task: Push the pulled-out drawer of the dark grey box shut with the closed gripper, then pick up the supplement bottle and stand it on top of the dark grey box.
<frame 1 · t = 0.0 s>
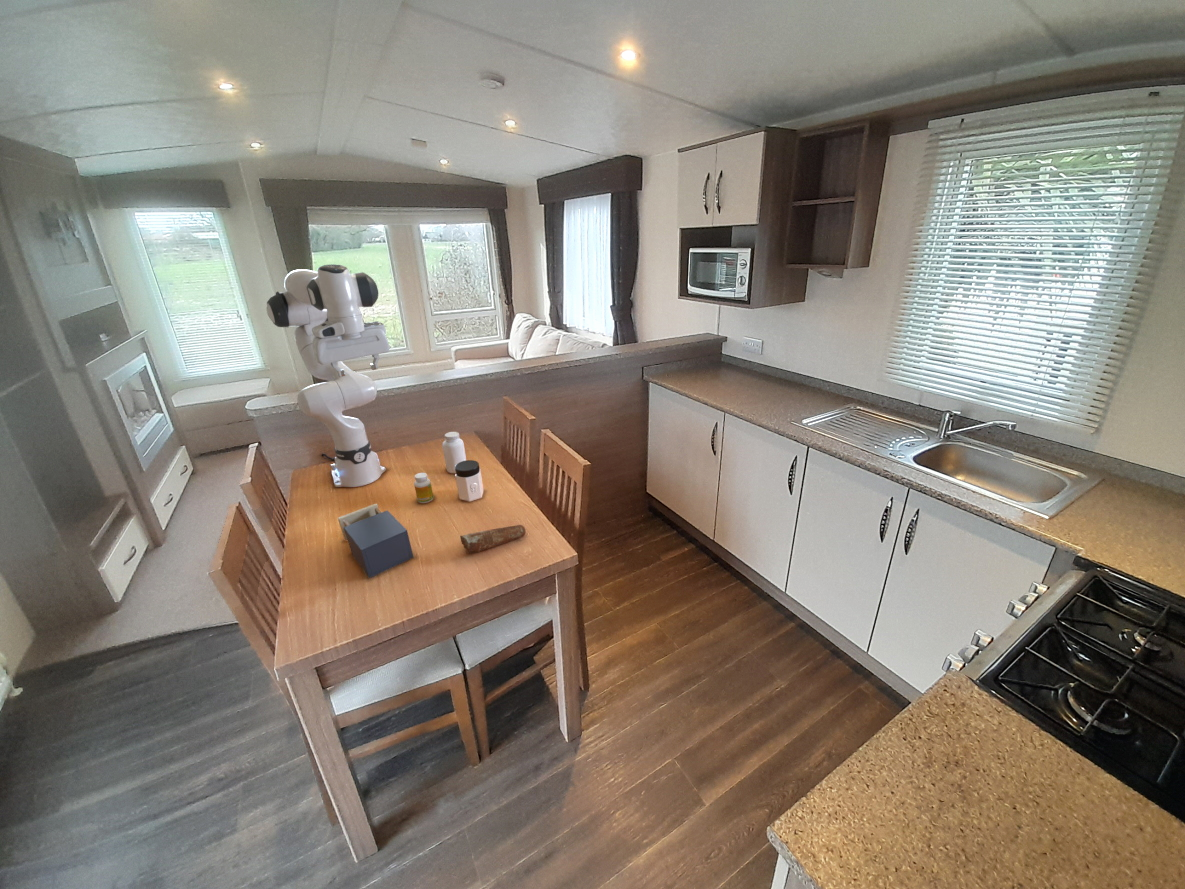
hand: (358, 372, 141), 48 cm above the table, tool pointing down, fingers open, 8 cm apart
supplement bottle: (425, 500, 167), on the table
rusty brown tapered cylinder: (495, 543, 143), on the table
pill bottle: (457, 469, 187), on the table
drawer: (365, 526, 144), point 5 cm above the table, slide at 7.0 cm
dark grey box: (382, 556, 139), on the table
jar: (471, 495, 169), on the table
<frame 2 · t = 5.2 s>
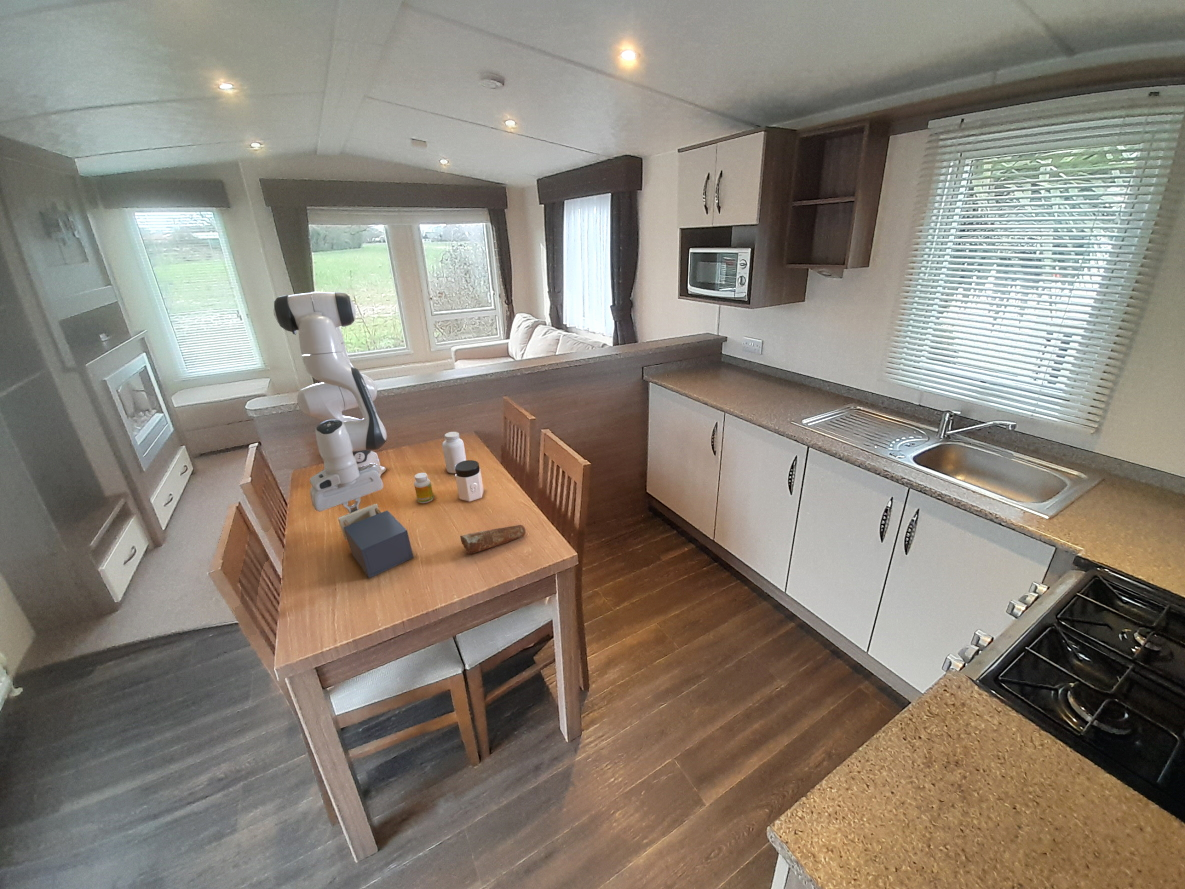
hand: (353, 511, 150), 6 cm above the table, tool pointing down, fingers closed, pressing on drawer
drawer: (365, 527, 144), point 5 cm above the table, slide at 6.9 cm, touching gripper
everything else where it was.
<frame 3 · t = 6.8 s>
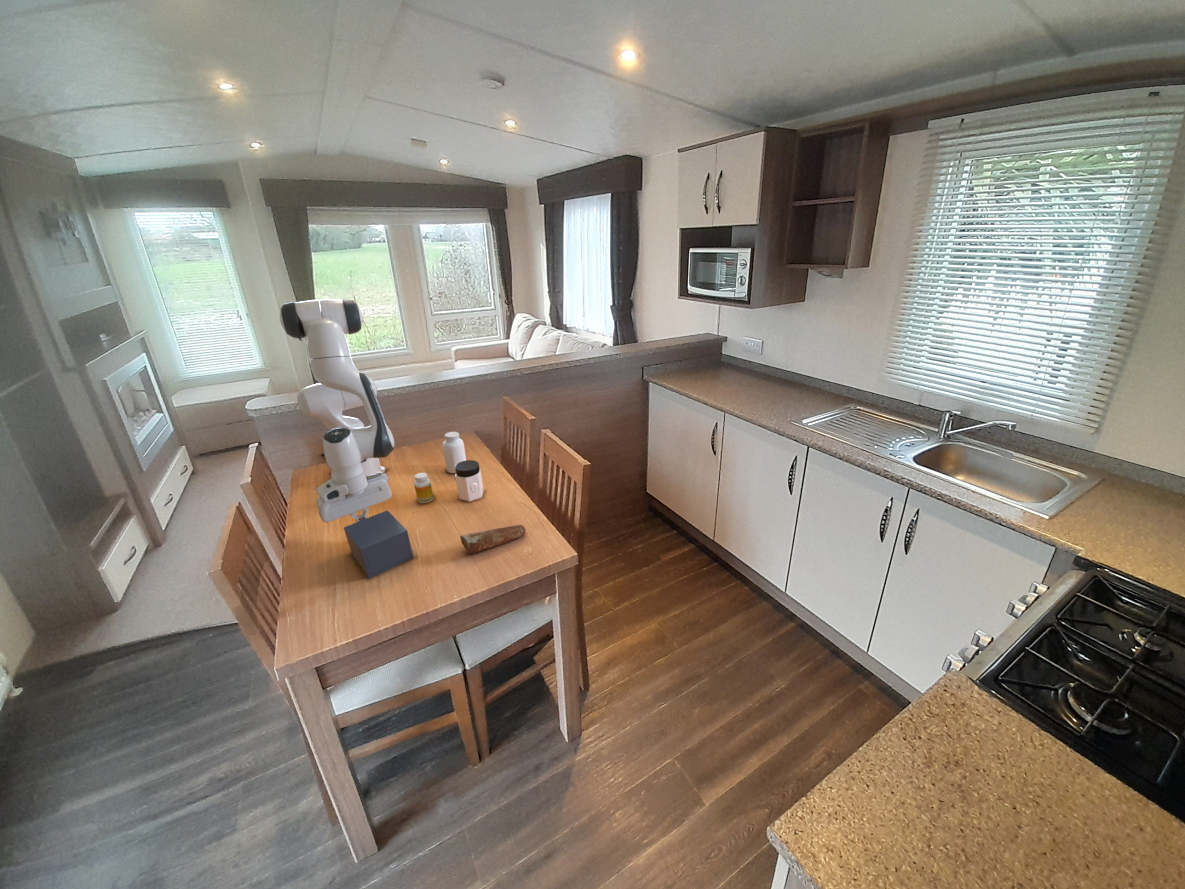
hand: (361, 521, 146), 6 cm above the table, tool pointing down, fingers closed, pressing on drawer
drawer: (373, 536, 139), point 5 cm above the table, slide at 0.0 cm, touching dark grey box, gripper
everything else where it was.
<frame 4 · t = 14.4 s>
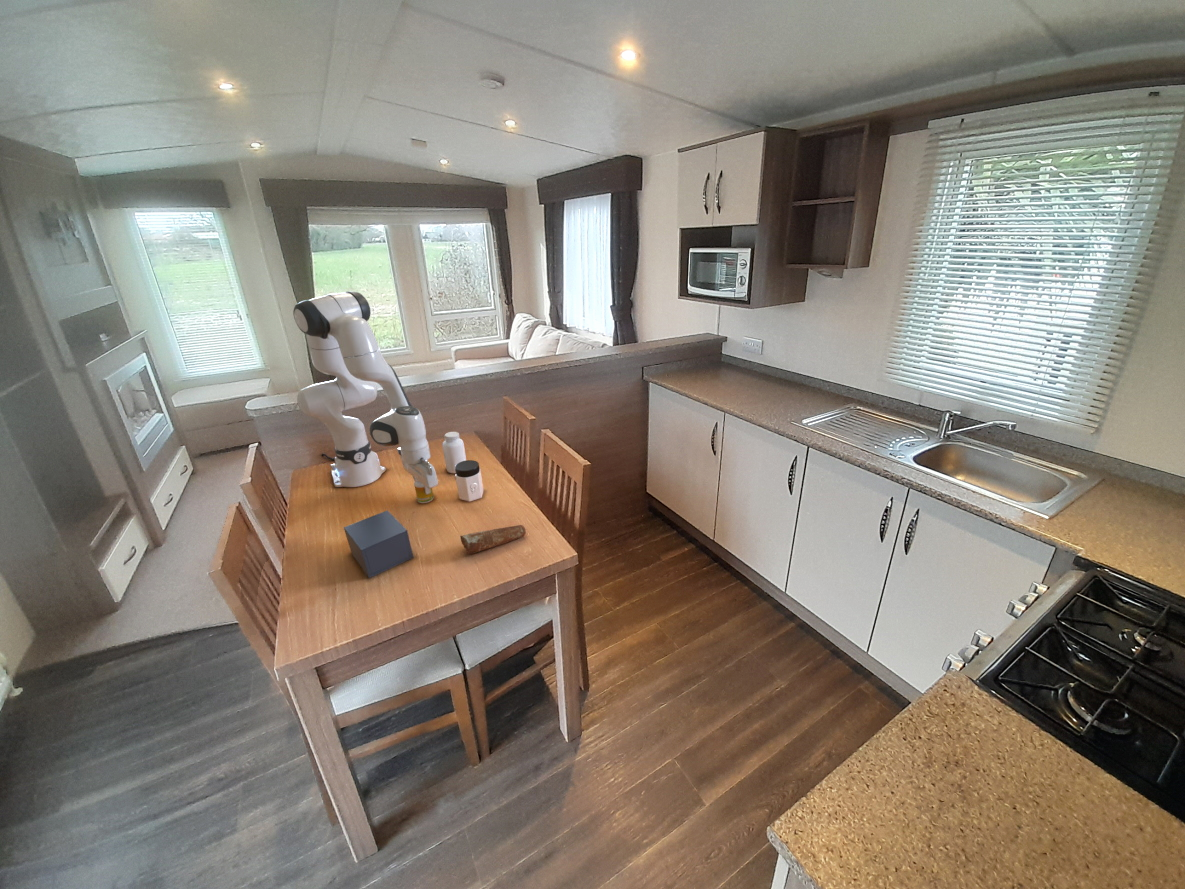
hand: (423, 489, 165), 4 cm above the table, tool pointing down, fingers closed on supplement bottle, 5 cm apart
supplement bottle: (425, 500, 167), on the table, touching gripper
drawer: (373, 536, 139), point 5 cm above the table, slide at 0.0 cm, touching dark grey box
everything else where it was.
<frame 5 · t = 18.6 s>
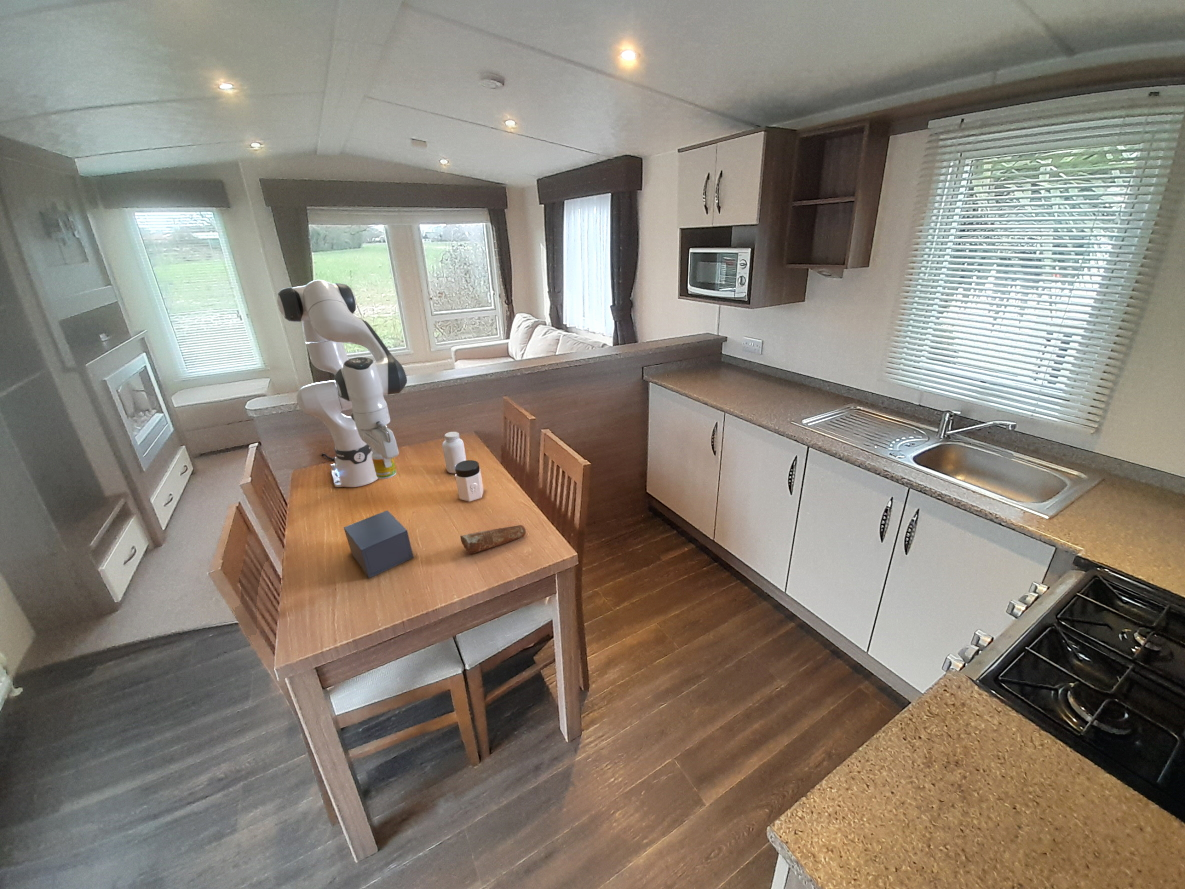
hand: (383, 462, 136), 26 cm above the table, tool pointing down, fingers closed on supplement bottle, 5 cm apart
supplement bottle: (386, 475, 138), point 21 cm above the table, touching gripper
everything else where it was.
when the fingers open (14 cm above the table, at t = 22.7 s): supplement bottle stays where it is, resting on dark grey box.
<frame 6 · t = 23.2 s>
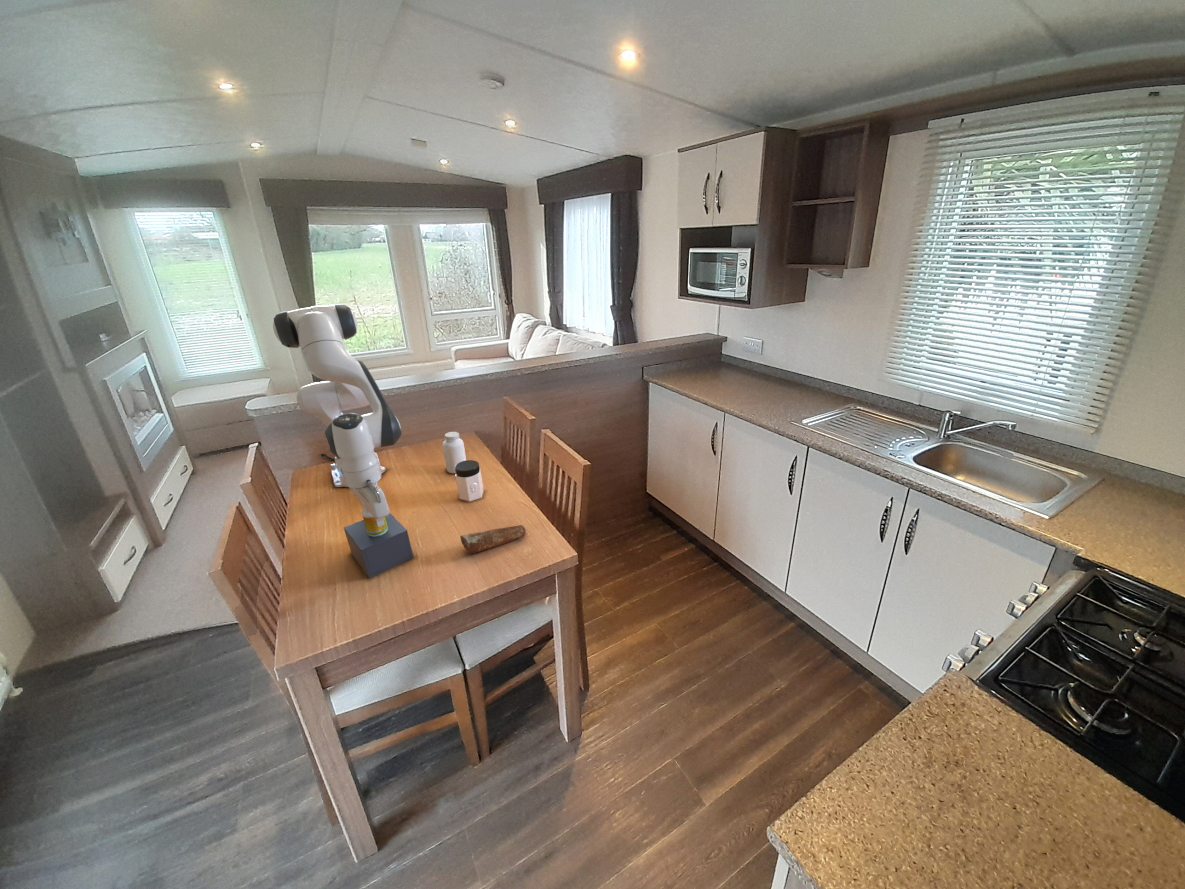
hand: (374, 518, 131), 14 cm above the table, tool pointing down, fingers open, 8 cm apart
supplement bottle: (378, 532, 134), point 9 cm above the table, touching dark grey box
everything else where it was.
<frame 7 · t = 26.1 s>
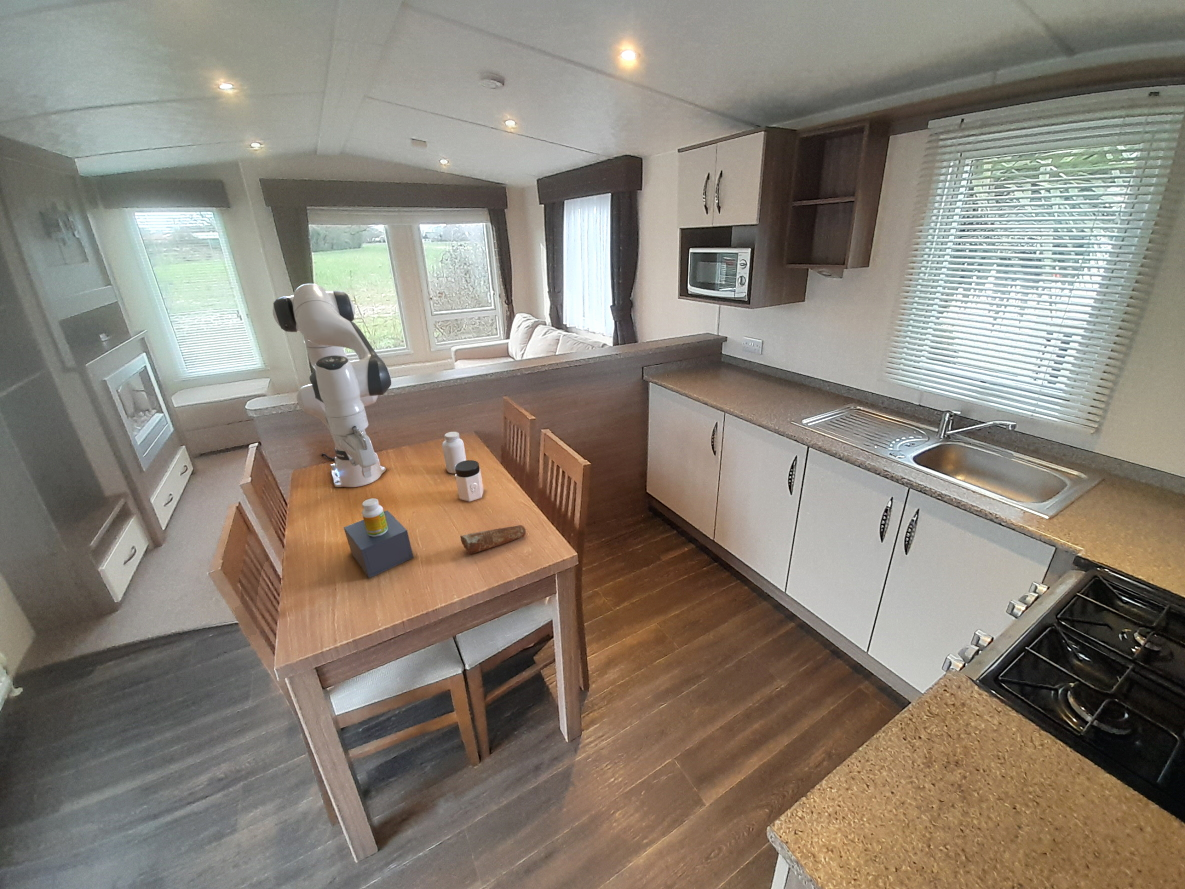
hand: (361, 470, 125), 29 cm above the table, tool pointing down, fingers open, 8 cm apart
nothing on the table moved.
at the end: drawer slide at 0.0 cm; supplement bottle inside the target area on the dark grey box (2.0 cm from its centre), point 9.4 cm above the dark grey box's base; supplement bottle tilted 0° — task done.
